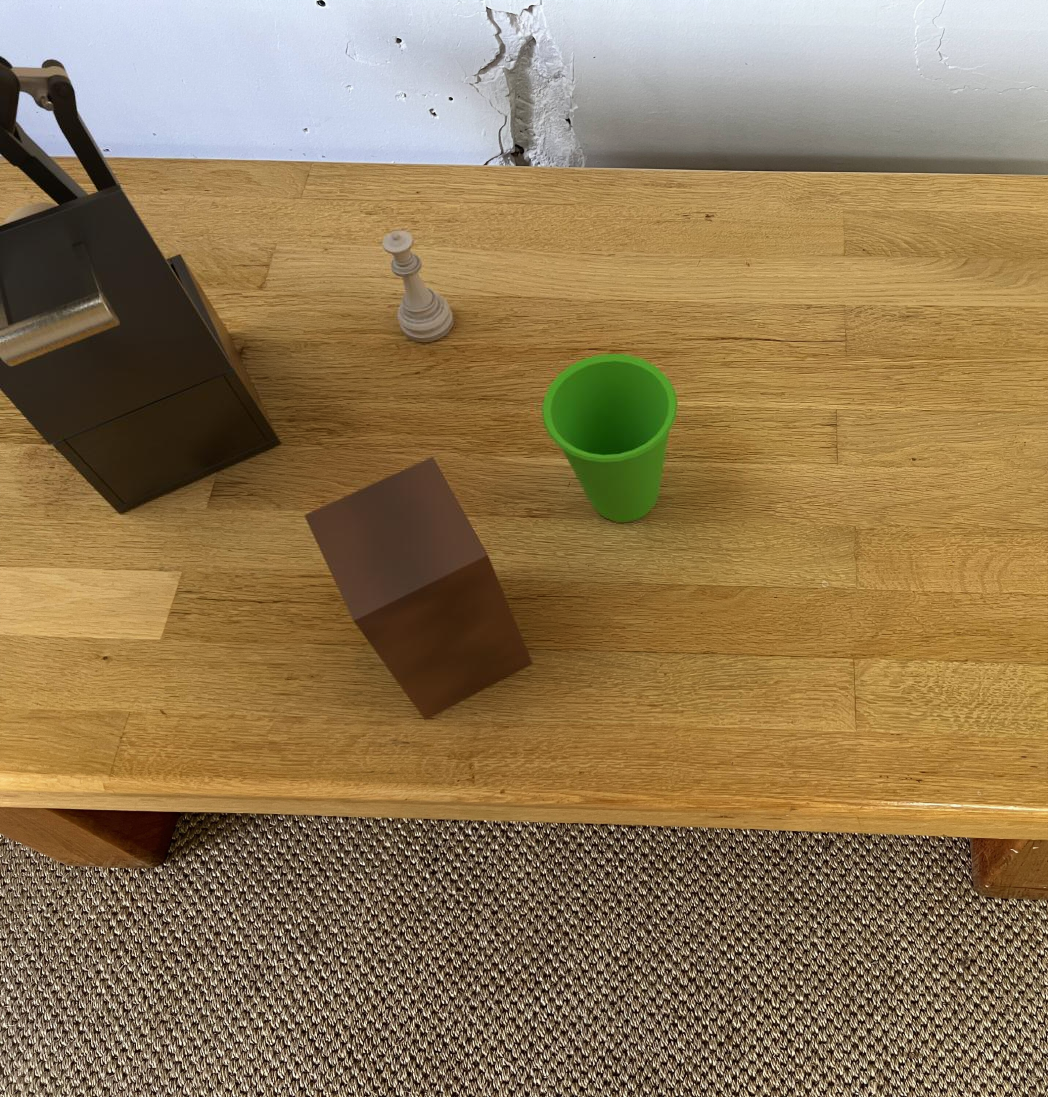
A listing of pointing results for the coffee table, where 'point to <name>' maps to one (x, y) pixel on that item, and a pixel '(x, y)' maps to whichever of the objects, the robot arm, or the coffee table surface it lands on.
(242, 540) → the coffee table surface
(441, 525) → the dark brown rectangular block
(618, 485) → the cup
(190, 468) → the dark boxy piece
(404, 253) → the chess piece
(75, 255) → the handled dark lid
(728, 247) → the coffee table surface
